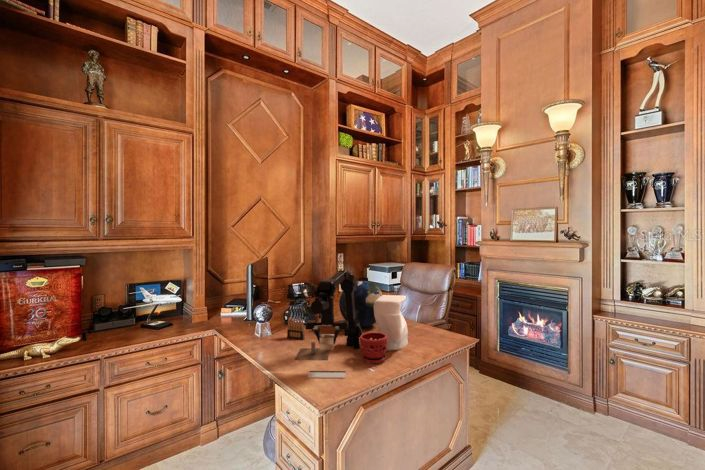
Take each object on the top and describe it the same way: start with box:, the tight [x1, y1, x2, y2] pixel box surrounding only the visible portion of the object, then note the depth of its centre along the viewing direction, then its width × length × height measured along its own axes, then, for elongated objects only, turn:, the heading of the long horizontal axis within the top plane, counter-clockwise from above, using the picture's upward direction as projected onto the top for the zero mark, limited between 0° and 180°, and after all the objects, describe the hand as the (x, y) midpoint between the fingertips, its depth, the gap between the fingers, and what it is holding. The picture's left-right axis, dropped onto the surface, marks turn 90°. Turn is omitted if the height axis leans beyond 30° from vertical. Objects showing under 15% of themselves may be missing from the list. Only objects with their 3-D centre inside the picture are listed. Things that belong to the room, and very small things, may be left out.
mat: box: [307, 370, 347, 379], centre depth 147 cm, size 16×14×1 cm
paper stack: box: [374, 294, 409, 351], centre depth 179 cm, size 21×27×26 cm
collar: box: [319, 333, 335, 351], centre depth 147 cm, size 6×6×5 cm
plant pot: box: [359, 331, 387, 364], centre depth 160 cm, size 13×13×12 cm
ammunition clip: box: [286, 317, 305, 341], centre depth 192 cm, size 11×2×12 cm, turn 69°
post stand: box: [294, 341, 331, 361], centre depth 165 cm, size 16×16×7 cm
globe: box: [338, 280, 384, 328], centre depth 217 cm, size 30×30×30 cm
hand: (327, 343), depth 147 cm, fingers closed on collar, 6 cm apart
